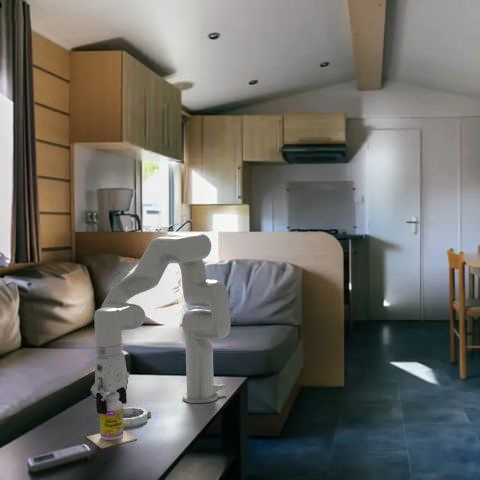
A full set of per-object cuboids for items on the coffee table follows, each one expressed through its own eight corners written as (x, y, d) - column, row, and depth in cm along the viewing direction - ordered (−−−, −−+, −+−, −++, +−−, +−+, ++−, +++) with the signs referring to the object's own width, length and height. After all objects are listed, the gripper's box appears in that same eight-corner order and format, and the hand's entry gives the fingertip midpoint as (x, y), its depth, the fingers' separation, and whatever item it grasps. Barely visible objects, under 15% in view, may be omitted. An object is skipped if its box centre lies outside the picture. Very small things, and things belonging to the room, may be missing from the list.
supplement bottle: (102, 442, 182) (100, 398, 182) (99, 435, 188) (97, 392, 188) (125, 439, 184) (124, 395, 184) (121, 432, 191) (120, 389, 190)
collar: (140, 411, 212) (140, 404, 212) (158, 420, 202) (158, 412, 202) (97, 421, 203) (96, 413, 203) (113, 431, 193) (113, 423, 193)
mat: (120, 429, 194) (120, 428, 194) (136, 439, 185) (136, 438, 185) (86, 437, 187) (86, 436, 187) (101, 448, 178) (101, 447, 178)
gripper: (101, 358, 176) (104, 419, 177) (136, 344, 192) (139, 400, 193) (79, 356, 179) (83, 416, 180) (116, 343, 195) (118, 398, 196)
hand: (112, 408), depth 186 cm, fingers open, 9 cm apart
